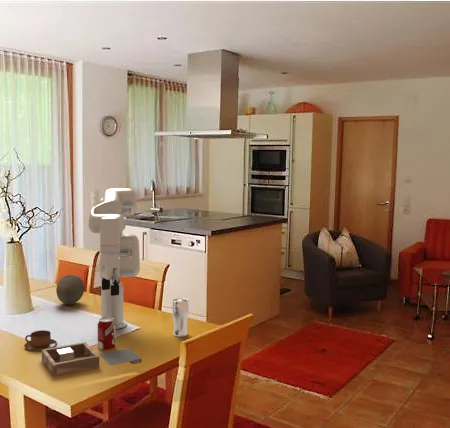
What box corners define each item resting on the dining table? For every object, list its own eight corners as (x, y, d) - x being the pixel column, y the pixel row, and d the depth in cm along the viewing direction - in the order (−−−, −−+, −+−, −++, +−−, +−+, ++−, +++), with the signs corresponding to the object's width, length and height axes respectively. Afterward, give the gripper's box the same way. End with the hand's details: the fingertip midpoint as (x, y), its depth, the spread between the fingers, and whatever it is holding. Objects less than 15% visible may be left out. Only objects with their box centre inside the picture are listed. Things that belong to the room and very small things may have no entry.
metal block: (56, 360, 188) (56, 349, 187) (70, 357, 190) (70, 347, 190) (60, 365, 184) (59, 354, 183) (74, 362, 186) (73, 351, 186)
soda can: (100, 353, 198) (99, 322, 197) (95, 347, 204) (95, 317, 203) (117, 350, 201) (117, 320, 200) (112, 344, 207) (112, 315, 206)
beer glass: (185, 337, 217) (186, 303, 215) (169, 336, 218) (170, 301, 217) (190, 332, 224) (190, 298, 222) (174, 331, 225) (175, 297, 224)
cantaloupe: (50, 305, 260) (49, 275, 258) (72, 299, 271) (72, 271, 270) (68, 310, 252) (67, 280, 250) (90, 304, 263) (90, 275, 262)
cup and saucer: (22, 355, 195) (22, 339, 194) (26, 344, 206) (25, 329, 205) (56, 353, 198) (56, 337, 197) (57, 342, 209) (57, 327, 209)
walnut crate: (41, 362, 188) (41, 349, 187) (85, 354, 196) (85, 342, 196) (53, 379, 174) (53, 365, 174) (99, 369, 183) (99, 356, 182)
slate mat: (99, 356, 195) (99, 353, 195) (129, 350, 201) (129, 348, 201) (110, 367, 185) (110, 364, 185) (141, 361, 191) (141, 358, 191)
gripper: (93, 246, 204) (93, 288, 206) (108, 253, 190) (109, 298, 191) (111, 244, 208) (111, 286, 210) (128, 251, 194) (128, 296, 195)
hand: (110, 292), depth 201 cm, fingers open, 9 cm apart
